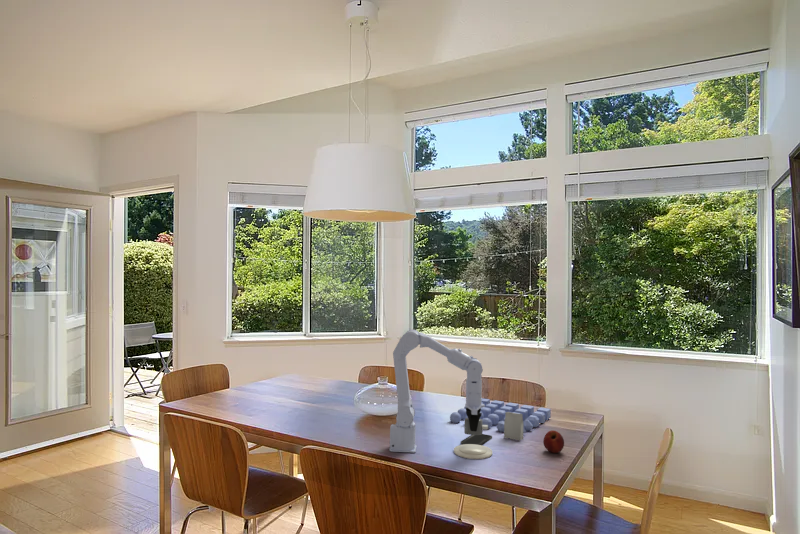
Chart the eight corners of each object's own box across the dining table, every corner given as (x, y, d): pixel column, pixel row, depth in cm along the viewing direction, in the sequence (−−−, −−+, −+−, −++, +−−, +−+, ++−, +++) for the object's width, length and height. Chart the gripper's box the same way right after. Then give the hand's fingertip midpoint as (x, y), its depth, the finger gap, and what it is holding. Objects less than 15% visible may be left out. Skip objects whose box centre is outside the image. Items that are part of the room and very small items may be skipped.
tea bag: (520, 440, 204) (521, 415, 204) (504, 437, 207) (504, 412, 207) (523, 438, 207) (523, 413, 207) (506, 435, 210) (507, 410, 211)
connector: (464, 434, 188) (464, 420, 188) (464, 431, 191) (464, 418, 191) (487, 435, 187) (488, 421, 187) (487, 432, 190) (487, 419, 190)
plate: (453, 458, 183) (453, 454, 183) (453, 445, 197) (453, 442, 197) (493, 460, 181) (493, 456, 181) (490, 447, 195) (490, 444, 195)
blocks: (550, 419, 237) (550, 408, 237) (524, 438, 208) (524, 426, 208) (480, 407, 257) (481, 397, 257) (447, 423, 228) (448, 412, 228)
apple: (540, 452, 190) (540, 431, 190) (547, 447, 196) (547, 426, 196) (560, 457, 186) (560, 434, 186) (566, 451, 192) (566, 429, 192)
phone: (459, 442, 198) (475, 432, 211) (459, 445, 198) (475, 435, 211) (478, 445, 194) (493, 435, 207) (478, 448, 194) (493, 438, 207)
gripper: (486, 397, 182) (485, 435, 181) (483, 388, 196) (483, 424, 196) (465, 396, 182) (465, 435, 182) (464, 387, 197) (464, 423, 197)
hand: (473, 429), depth 189 cm, fingers closed on connector, 3 cm apart
